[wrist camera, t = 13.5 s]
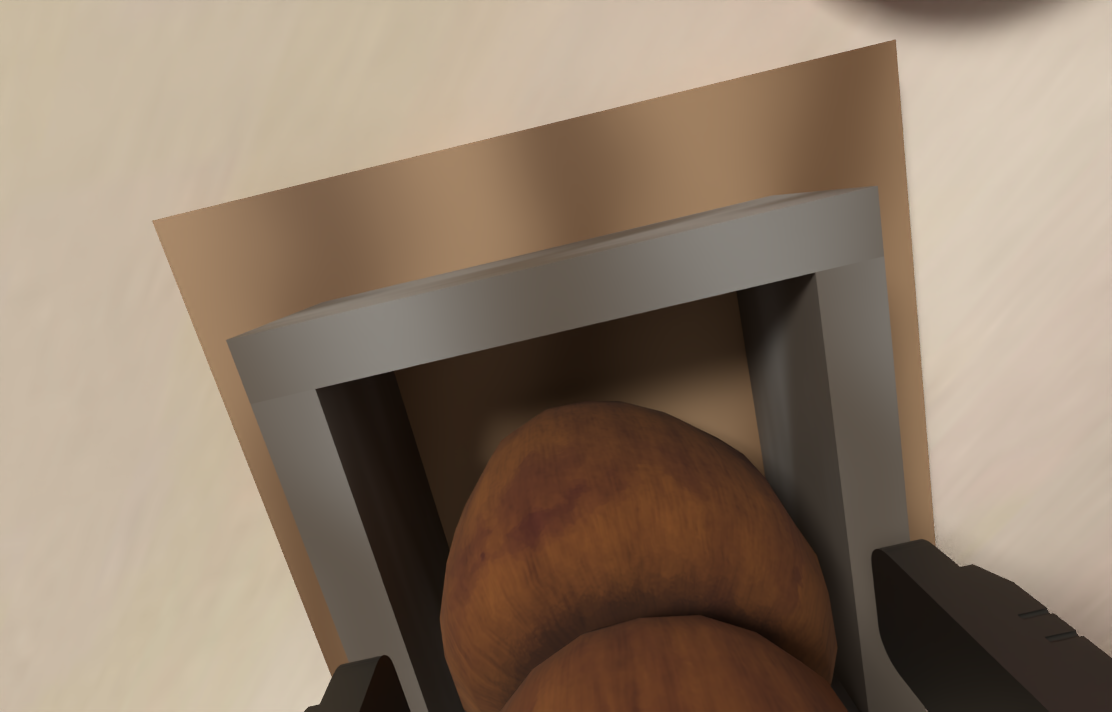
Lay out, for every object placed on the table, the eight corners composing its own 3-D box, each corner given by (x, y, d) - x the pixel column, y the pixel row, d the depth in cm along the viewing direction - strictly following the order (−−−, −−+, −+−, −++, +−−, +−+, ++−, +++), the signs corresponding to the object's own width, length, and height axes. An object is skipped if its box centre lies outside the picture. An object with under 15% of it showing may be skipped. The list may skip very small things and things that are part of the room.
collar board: (866, 53, 14) (1072, -50, 9) (920, 644, 19) (1081, 825, 13) (182, 220, 15) (-31, 222, 9) (387, 758, 19) (325, 979, 14)
